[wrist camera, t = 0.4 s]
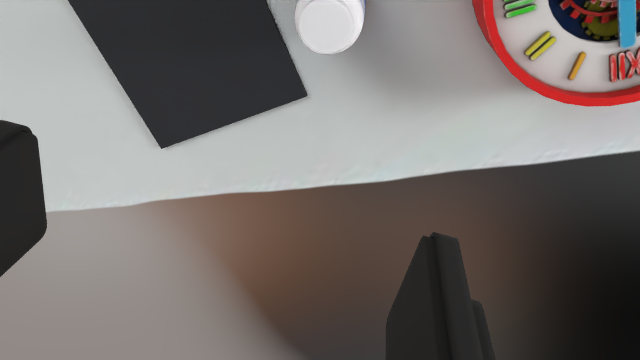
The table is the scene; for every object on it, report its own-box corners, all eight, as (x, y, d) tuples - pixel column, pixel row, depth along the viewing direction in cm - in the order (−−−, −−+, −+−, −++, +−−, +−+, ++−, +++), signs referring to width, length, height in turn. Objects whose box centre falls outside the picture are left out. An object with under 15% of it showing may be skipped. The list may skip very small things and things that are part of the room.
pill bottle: (326, 44, 44) (310, 77, 35) (295, -8, 42) (272, 13, 33) (378, 15, 42) (374, 42, 33) (349, -42, 40) (337, -28, 31)
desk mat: (35, -55, 43) (33, -55, 42) (198, -151, 37) (197, -152, 37) (162, 147, 52) (161, 149, 52) (307, 95, 46) (306, 96, 46)
